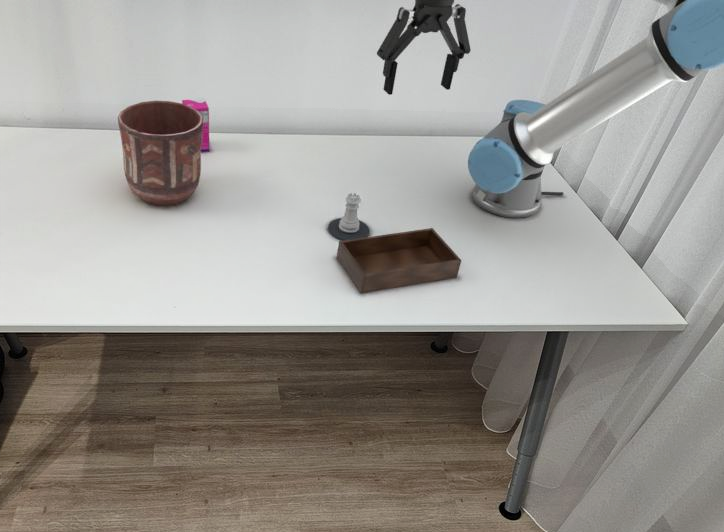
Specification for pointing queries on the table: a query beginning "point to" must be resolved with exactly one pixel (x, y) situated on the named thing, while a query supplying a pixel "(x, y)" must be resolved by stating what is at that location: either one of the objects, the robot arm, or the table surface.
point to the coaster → (341, 235)
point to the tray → (397, 260)
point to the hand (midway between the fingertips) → (416, 89)
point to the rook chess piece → (350, 215)
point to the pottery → (161, 150)
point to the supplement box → (204, 111)
